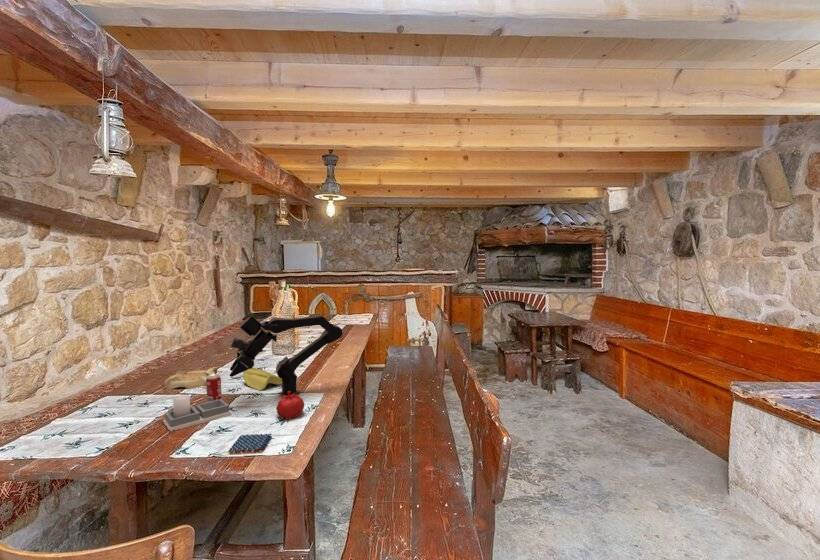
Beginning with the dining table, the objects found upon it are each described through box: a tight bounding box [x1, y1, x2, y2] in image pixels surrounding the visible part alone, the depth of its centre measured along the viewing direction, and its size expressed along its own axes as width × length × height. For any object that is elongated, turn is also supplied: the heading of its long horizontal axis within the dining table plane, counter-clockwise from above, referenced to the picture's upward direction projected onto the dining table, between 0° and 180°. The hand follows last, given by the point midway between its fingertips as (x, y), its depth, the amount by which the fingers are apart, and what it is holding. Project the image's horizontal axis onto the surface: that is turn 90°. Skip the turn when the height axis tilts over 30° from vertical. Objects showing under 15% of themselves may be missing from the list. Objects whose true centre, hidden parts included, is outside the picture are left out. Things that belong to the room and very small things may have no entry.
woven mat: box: [228, 433, 273, 455], centre depth 124 cm, size 10×11×2 cm
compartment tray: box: [163, 394, 232, 432], centre depth 144 cm, size 20×10×9 cm, turn 133°
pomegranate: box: [275, 391, 305, 420], centre depth 147 cm, size 10×10×9 cm
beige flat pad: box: [163, 367, 218, 390], centre depth 187 cm, size 24×24×5 cm
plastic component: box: [242, 366, 282, 391], centre depth 183 cm, size 20×7×10 cm
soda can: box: [205, 373, 223, 402], centre depth 157 cm, size 5×5×12 cm
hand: (230, 373), depth 159 cm, fingers open, 9 cm apart
